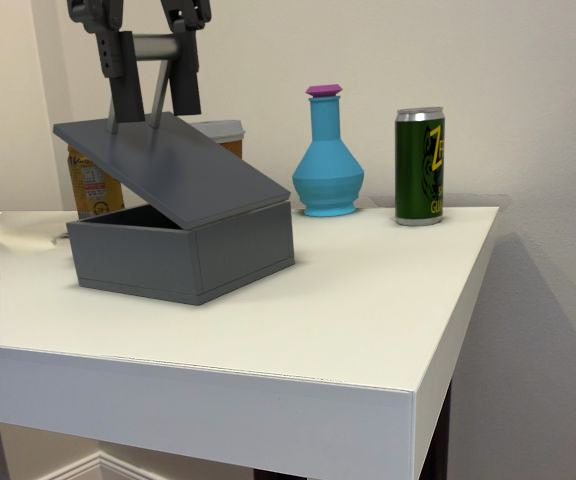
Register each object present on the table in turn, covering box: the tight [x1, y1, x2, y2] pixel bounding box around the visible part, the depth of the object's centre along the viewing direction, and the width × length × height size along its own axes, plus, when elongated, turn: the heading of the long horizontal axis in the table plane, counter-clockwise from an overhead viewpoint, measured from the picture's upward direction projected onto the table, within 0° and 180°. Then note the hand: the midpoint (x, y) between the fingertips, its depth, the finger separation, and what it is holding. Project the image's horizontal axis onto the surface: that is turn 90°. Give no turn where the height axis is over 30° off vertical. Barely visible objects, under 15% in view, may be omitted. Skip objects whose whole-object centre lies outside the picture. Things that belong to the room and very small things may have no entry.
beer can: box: [394, 106, 446, 227], centre depth 73 cm, size 5×5×12 cm
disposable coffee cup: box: [187, 119, 246, 160], centre depth 80 cm, size 10×10×12 cm
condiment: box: [59, 144, 126, 237], centre depth 83 cm, size 7×8×12 cm
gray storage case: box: [65, 200, 296, 306], centre depth 60 cm, size 15×14×6 cm
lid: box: [52, 33, 292, 231], centre depth 54 cm, size 16×14×9 cm
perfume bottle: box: [291, 83, 365, 217], centre depth 82 cm, size 9×9×15 cm
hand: (160, 118), depth 56 cm, fingers closed on lid, 6 cm apart
